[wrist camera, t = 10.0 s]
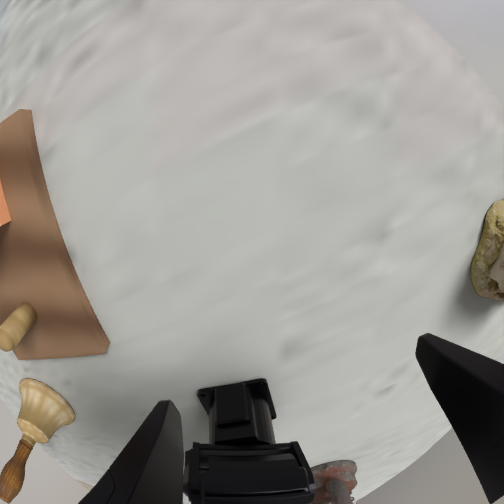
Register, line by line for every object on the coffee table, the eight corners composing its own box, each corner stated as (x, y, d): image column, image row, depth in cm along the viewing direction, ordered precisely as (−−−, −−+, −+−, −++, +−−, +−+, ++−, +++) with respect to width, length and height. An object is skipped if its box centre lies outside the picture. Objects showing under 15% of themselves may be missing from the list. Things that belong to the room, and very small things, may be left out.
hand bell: (33, 412, 25) (-2, 499, 11) (11, 370, 22) (-42, 466, 8) (83, 428, 26) (55, 529, 12) (63, 387, 24) (17, 505, 9)
